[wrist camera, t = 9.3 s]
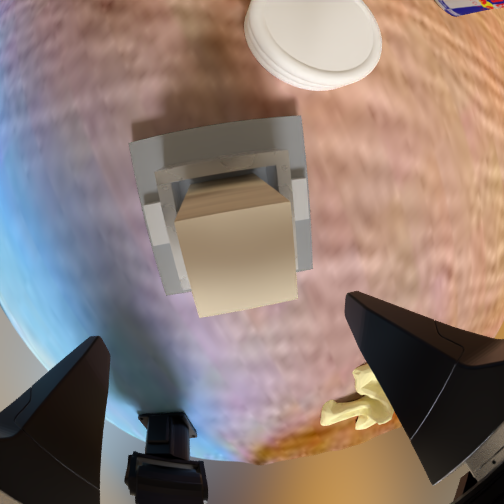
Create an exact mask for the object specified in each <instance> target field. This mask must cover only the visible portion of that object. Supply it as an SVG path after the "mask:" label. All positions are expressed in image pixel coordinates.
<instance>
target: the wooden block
mask: <svg viewBox="0 0 504 504" xmlns="http://www.w3.org/2000/svg"><path fill="white" fill-rule="evenodd" d="M174 223H175V228H176V232H177V236H178V240H179V244H180V248H181V252H182V256H183V260H184V264H185V268H186V272H187V276H188V279H189V283H190V287H191V290H192V294H193V297H194V301H195V304H196V308H197V311H198V314H199V318H202V317H208V316H213V315H219V314H225V313H230V312H236V311H241V310H246V309H252V308H257V307H262V306H267V305H272V304H276V303H281V302H286V301H291V300H295V299H298V295H297V278H296V263H295V249H294V236H293V224H292V213H291V202H290V201H289V200H288V199H287V198H285V197H284V196H283V195H281V194H280V193H279V192H278V191H276V190H275V189H274V188H272V187H271V186H270V185H268V184H267V183H266V182H264V181H263V180H262V179H260V178H259V177H258V176H256V175H255V174H247V175H241V176H234V177H228V178H223V179H217V180H211V181H206V182H200V183H195V184H190V186H189V189H188V191H187V193H186V195H185V198H184V200H183V202H182V205H181V207H180V209H179V212H178V214H177V216H176V219H175V221H174Z"/></svg>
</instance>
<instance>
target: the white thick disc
mask: <svg viewBox="0 0 504 504" xmlns="http://www.w3.org/2000/svg"><path fill="white" fill-rule="evenodd" d="M244 33H245V38H246V41H247V44H248V47H249V48H250V50H251V52H252V54H253V55H254V57H255V58H256V59H257V61H258V62H259V63H260V64H261V65H262V66H263V67H264V68H265V69H266V70H267V71H268V72H269V73H271V74H272V75H274V76H275V77H276V78H278V79H280V80H282V81H283V82H285V83H288V84H290V85H292V86H295V87H299V88H302V89H307V90H314V91H326V90H332V89H336V88H339V87H342V86H345V85H348V84H352V83H355V82H357V81H359V80H361V79H363V78H364V77H366V76H367V75H368V74H369V73H370V72H371V71H372V70H373V69H374V68H375V66H376V65H377V63H378V61H379V58H380V55H381V51H382V38H381V33H380V29H379V26H378V24H377V21H376V19H375V17H374V16H373V14H372V12H371V11H370V9H369V8H368V7H367V6H366V4H365V3H364V2H363V1H362V0H251V2H250V5H249V8H248V10H247V13H246V16H245V21H244Z"/></svg>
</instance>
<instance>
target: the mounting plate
mask: <svg viewBox="0 0 504 504" xmlns="http://www.w3.org/2000/svg"><path fill="white" fill-rule="evenodd" d="M129 147H130V153H131V159H132V164H133V169H134V174H135V179H136V184H137V189H138V194H139V198H140V202H141V207H142V211H143V215H144V219H145V223H146V227H147V231H148V235H149V239H150V243H151V246H152V250H153V253H154V257H155V260H156V264H157V267H158V271H159V274H160V277H161V281H162V284H163V287H164V290H165V293H166V296H167V295H173V294H179V293H185V292H191V291H192V290H191V289H188V290H182V287H181V283H180V280H179V276H178V272H177V269H176V265H175V261H174V257H173V254H172V250H171V246H170V242H169V238H168V234H167V229H166V225H165V221H164V217H163V212H162V208H161V203H160V198H159V194H158V189H157V184H156V179H155V174H154V172H155V171H157V170H159V169H160V168H162V167H164V166H168V165H173V164H178V163H183V162H188V161H193V160H198V159H204V158H209V157H215V156H221V155H227V154H234V153H241V152H248V151H256V150H264V149H272V148H276V149H284V150H288V152H289V161H290V171H291V181H292V192H293V203H294V215H295V228H296V241H297V257H298V269H297V270H296V272H300V271H305V270H310V269H313V264H312V239H311V220H310V204H309V190H308V177H307V166H306V155H305V146H304V136H303V127H302V119H301V116H285V117H272V118H262V119H252V120H243V121H236V122H228V123H221V124H215V125H209V126H203V127H197V128H192V129H187V130H182V131H177V132H172V133H168V134H163V135H159V136H155V137H150V138H146V139H142V140H139V141H135V142H131V143H129ZM247 174H255V175H256V176H258V177H259V178H260V179H262V180H263V181H264V182H266V183H267V178H266V170H265V167H259V168H252V169H245V170H238V171H232V172H226V173H219V174H214V175H208V176H202V177H197V178H192V179H187V180H182V181H179V186H180V191H181V196H182V201H183V200H184V198H185V195H186V193H187V191H188V189H189V186H190V184H195V183H200V182H206V181H211V180H217V179H223V178H228V177H234V176H241V175H247Z"/></svg>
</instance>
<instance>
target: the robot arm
mask: <svg viewBox="0 0 504 504" xmlns="http://www.w3.org/2000/svg"><path fill="white" fill-rule="evenodd" d="M345 317H346V320H347V322H348V324H349V326H350V329H351V331H352V333H353V335H354V338H355V340H356V342H357V345H358V347H359V349H360V351H361V353H362V355H363V356H364V358H365V360H366V361H367V363H368V365H369V367H370V368H371V370H372V372H373V374H374V375H375V377H376V379H377V381H378V382H379V384H380V386H381V388H382V389H383V391H384V393H385V395H386V397H387V398H388V400H389V402H390V404H391V406H392V408H393V409H394V411H395V413H396V415H397V417H398V419H399V420H400V422H401V424H402V426H403V428H404V430H405V432H406V434H407V436H408V437H409V439H410V440H411V444H412V446H413V447H414V449H415V451H416V453H417V455H418V457H419V459H420V461H421V463H422V465H423V467H424V469H425V471H426V473H427V475H428V478H429V480H430V482H431V483H432V485H435V484H437V483H438V482H440V481H441V480H443V479H444V478H446V477H447V476H448V475H450V474H451V473H453V472H454V471H456V470H457V469H458V468H460V467H461V466H462V465H464V464H466V465H467V467H468V468H469V470H470V471H469V472H468V473H466V474H465V475H464V476H463V477H461V479H460V482H459V486H458V489H457V492H456V495H455V498H454V501H453V502H452V503H450V504H504V339H494V338H490V337H487V336H483V335H479V334H476V333H472V332H469V331H465V330H462V329H459V328H455V327H452V326H450V325H447V324H444V323H441V322H439V321H436V320H435V321H434V320H433V319H431V318H428V317H425V316H423V315H420V314H417V313H415V312H412V311H409V310H407V309H404V308H401V307H399V306H396V305H393V304H391V303H388V302H385V301H383V300H380V299H378V298H375V297H372V296H370V295H367V294H364V293H362V292H359V291H354V292H350V293H347V294H346V299H345ZM109 370H110V353H109V351H108V349H107V347H106V345H105V343H104V342H103V340H102V338H101V337H100V336H91V337H89V338H88V339H86V340H85V341H84V342H83V343H82V344H80V345H79V346H78V347H77V348H76V349H74V350H73V351H72V352H71V353H70V354H68V355H67V356H66V357H65V358H64V359H63V360H61V361H60V362H59V363H58V364H57V365H56V366H54V367H53V368H52V369H51V370H50V371H49V372H47V373H46V374H45V375H44V376H43V377H42V378H40V380H38V381H37V382H36V383H35V384H34V385H33V386H32V388H31V387H30V388H29V389H28V390H27V391H26V392H25V393H23V394H22V395H21V396H20V397H19V398H18V399H16V400H15V401H14V402H13V403H11V405H9V406H8V407H6V408H5V409H4V410H3V411H1V412H0V504H100V490H99V489H100V466H101V450H102V438H103V428H104V419H105V411H106V404H107V397H108V387H109ZM138 419H139V420H140V421H141V423H142V424H143V425H144V426H145V428H146V429H147V436H146V447H145V454H142V453H138V452H136V451H134V452H133V454H132V455H129V456H128V465H127V471H126V475H125V484H126V485H127V486H128V488H129V490H130V495H134V496H135V503H136V504H206V503H207V500H208V485H207V480H206V474H205V468H204V462H203V461H190V438H195V437H197V433H196V431H195V430H194V428H193V427H192V425H191V423H190V422H189V420H188V418H187V417H186V415H185V414H184V413H168V414H142V415H139V416H138Z"/></svg>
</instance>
